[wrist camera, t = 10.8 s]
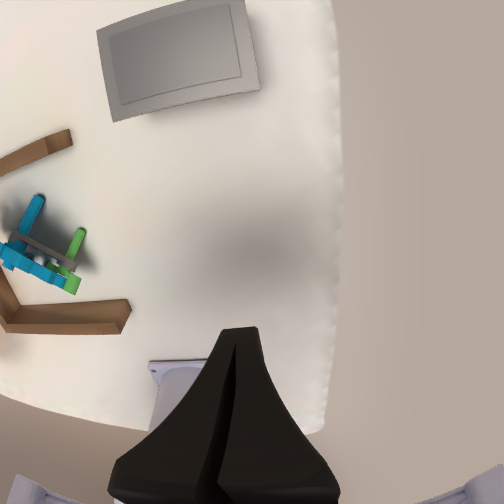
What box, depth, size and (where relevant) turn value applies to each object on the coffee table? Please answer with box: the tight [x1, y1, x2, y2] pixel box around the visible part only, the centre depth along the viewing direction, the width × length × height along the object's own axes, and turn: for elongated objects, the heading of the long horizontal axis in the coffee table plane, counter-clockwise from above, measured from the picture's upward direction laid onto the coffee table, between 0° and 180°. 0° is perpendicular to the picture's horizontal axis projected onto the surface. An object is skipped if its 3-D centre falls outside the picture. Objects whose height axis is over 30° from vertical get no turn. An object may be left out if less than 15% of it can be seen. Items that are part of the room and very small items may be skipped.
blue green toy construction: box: [0, 195, 86, 295], centre depth 19 cm, size 11×6×10 cm
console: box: [96, 0, 260, 123], centre depth 13 cm, size 5×7×5 cm
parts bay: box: [0, 129, 132, 335], centre depth 20 cm, size 15×15×3 cm
